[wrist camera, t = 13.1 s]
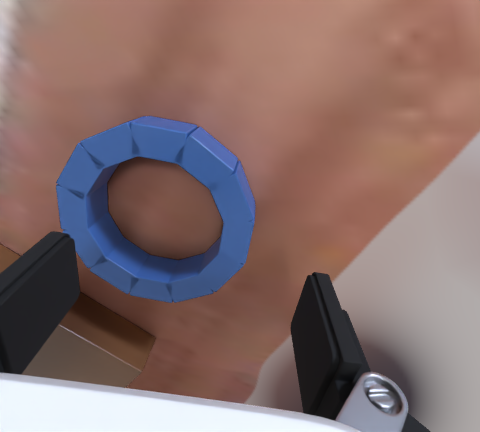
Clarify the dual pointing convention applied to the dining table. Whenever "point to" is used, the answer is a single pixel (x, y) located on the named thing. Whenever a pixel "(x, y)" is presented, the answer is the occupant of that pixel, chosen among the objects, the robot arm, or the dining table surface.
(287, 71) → the dining table surface
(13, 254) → the platform
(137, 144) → the ring
